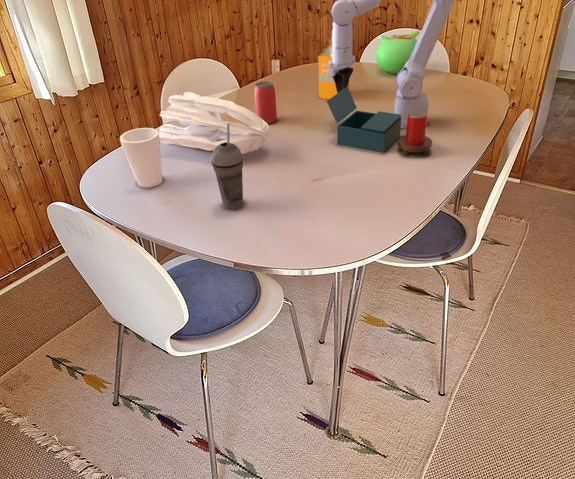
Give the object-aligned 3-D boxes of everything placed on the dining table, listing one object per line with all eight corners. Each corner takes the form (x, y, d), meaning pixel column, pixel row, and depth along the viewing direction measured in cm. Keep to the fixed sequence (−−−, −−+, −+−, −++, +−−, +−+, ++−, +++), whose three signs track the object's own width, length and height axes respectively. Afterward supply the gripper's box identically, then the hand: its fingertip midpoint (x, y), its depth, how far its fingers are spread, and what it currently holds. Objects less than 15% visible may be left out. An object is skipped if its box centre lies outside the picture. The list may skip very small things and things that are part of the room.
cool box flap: (337, 123, 138) (336, 123, 138) (356, 108, 147) (355, 108, 147) (327, 100, 136) (326, 101, 136) (347, 86, 145) (346, 87, 145)
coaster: (413, 143, 141) (414, 131, 139) (437, 153, 134) (439, 141, 132) (390, 152, 137) (391, 140, 135) (414, 163, 130) (415, 150, 128)
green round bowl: (374, 78, 190) (376, 38, 182) (375, 66, 204) (377, 28, 195) (422, 78, 187) (426, 37, 179) (420, 65, 201) (423, 27, 193)
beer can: (274, 125, 157) (272, 87, 150) (254, 124, 158) (251, 87, 151) (279, 117, 162) (276, 80, 155) (259, 117, 164) (256, 80, 157)
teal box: (337, 145, 142) (337, 123, 138) (355, 129, 151) (356, 107, 147) (383, 154, 136) (384, 131, 132) (399, 136, 145) (401, 114, 141)
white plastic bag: (284, 110, 141) (185, 94, 155) (253, 93, 124) (146, 77, 138) (271, 169, 142) (174, 148, 156) (239, 160, 126) (135, 137, 140)
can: (419, 136, 136) (421, 109, 132) (427, 143, 132) (430, 116, 128) (402, 138, 135) (404, 112, 131) (410, 146, 131) (413, 118, 127)
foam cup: (136, 194, 125) (124, 146, 117) (128, 179, 131) (116, 133, 124) (172, 184, 128) (163, 137, 120) (163, 170, 135) (153, 125, 127)
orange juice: (349, 93, 178) (350, 34, 167) (338, 100, 172) (338, 40, 161) (330, 90, 182) (330, 32, 171) (318, 97, 176) (317, 38, 165)
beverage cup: (218, 198, 121) (206, 119, 109) (248, 195, 121) (239, 117, 109) (217, 214, 115) (204, 132, 103) (248, 211, 115) (239, 129, 103)
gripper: (340, 39, 148) (340, 84, 155) (317, 51, 138) (318, 99, 145) (362, 41, 144) (360, 87, 152) (340, 53, 134) (340, 102, 142)
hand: (341, 93), depth 148 cm, fingers closed
